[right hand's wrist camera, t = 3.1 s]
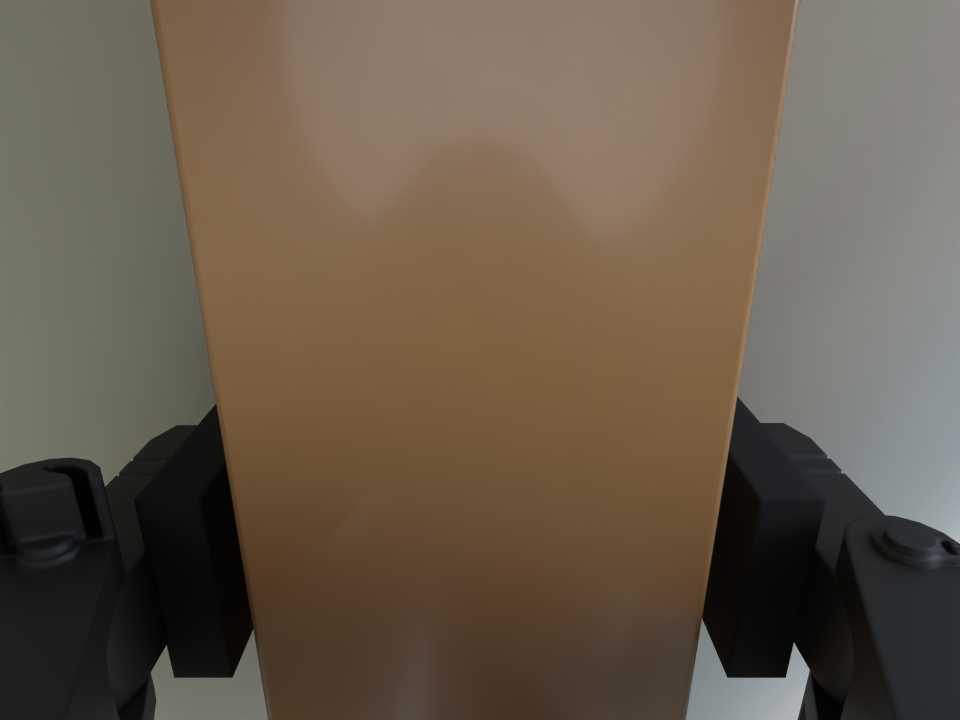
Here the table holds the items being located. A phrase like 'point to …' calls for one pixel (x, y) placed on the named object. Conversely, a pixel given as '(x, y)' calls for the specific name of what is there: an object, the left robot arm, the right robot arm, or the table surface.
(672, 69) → the bar
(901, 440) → the table surface
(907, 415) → the table surface
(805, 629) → the right robot arm
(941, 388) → the table surface
